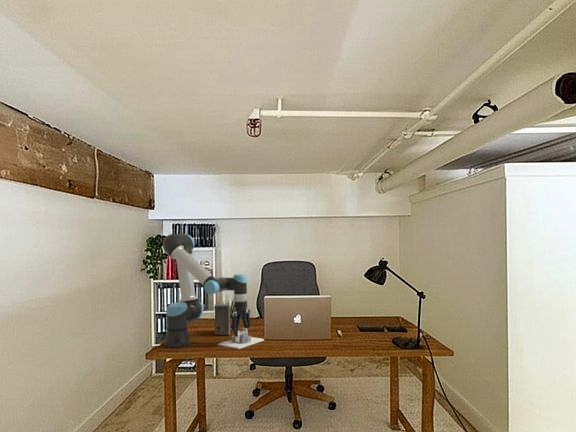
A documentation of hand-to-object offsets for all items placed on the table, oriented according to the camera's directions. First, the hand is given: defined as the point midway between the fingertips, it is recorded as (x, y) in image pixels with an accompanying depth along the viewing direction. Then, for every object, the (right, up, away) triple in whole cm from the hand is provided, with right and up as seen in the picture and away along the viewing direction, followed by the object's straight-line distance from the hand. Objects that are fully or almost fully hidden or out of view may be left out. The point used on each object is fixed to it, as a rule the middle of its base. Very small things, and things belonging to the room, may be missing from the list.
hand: (241, 340), depth 252 cm
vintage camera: (-14, -3, +26) cm, 29 cm away
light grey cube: (0, 0, 0) cm, 0 cm away
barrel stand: (0, -1, 0) cm, 1 cm away
